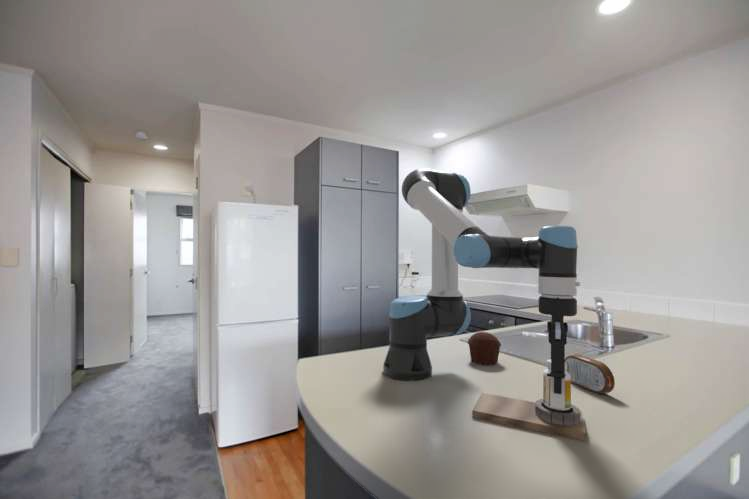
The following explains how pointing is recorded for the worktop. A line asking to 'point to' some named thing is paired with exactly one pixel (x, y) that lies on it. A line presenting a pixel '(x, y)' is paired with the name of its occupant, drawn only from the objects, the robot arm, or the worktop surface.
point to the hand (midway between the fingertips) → (557, 402)
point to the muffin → (484, 348)
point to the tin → (590, 374)
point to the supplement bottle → (547, 387)
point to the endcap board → (530, 415)
